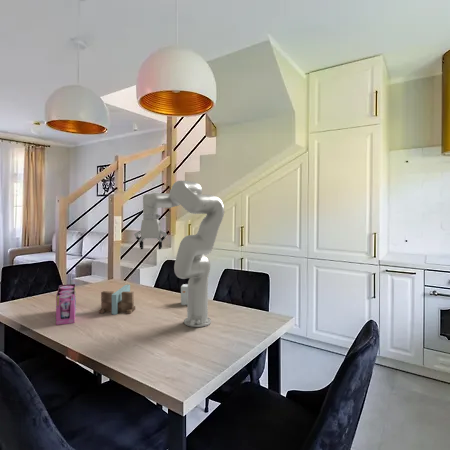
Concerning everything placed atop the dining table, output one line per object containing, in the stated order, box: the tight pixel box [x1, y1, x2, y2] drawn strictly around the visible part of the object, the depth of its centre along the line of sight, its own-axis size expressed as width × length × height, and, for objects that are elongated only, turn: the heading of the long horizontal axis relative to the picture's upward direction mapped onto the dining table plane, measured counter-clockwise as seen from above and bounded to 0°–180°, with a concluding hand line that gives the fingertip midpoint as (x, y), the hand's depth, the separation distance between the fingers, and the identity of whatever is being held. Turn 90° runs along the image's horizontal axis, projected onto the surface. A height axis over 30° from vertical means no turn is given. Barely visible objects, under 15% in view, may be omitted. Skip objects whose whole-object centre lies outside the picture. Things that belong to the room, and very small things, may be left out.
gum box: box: [55, 283, 77, 326], centre depth 158 cm, size 24×8×14 cm, turn 23°
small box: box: [180, 283, 188, 306], centre depth 181 cm, size 8×6×10 cm
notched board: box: [111, 284, 131, 315], centre depth 173 cm, size 22×2×10 cm, turn 179°
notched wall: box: [98, 290, 136, 315], centre depth 167 cm, size 16×8×10 cm, turn 89°
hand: (150, 249), depth 174 cm, fingers open, 9 cm apart
